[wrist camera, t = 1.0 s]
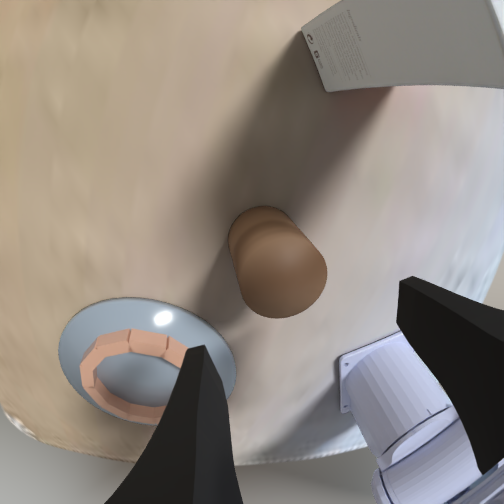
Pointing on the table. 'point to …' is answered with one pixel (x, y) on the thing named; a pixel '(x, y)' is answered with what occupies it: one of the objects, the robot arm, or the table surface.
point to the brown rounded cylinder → (275, 263)
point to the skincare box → (408, 43)
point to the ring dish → (136, 355)
